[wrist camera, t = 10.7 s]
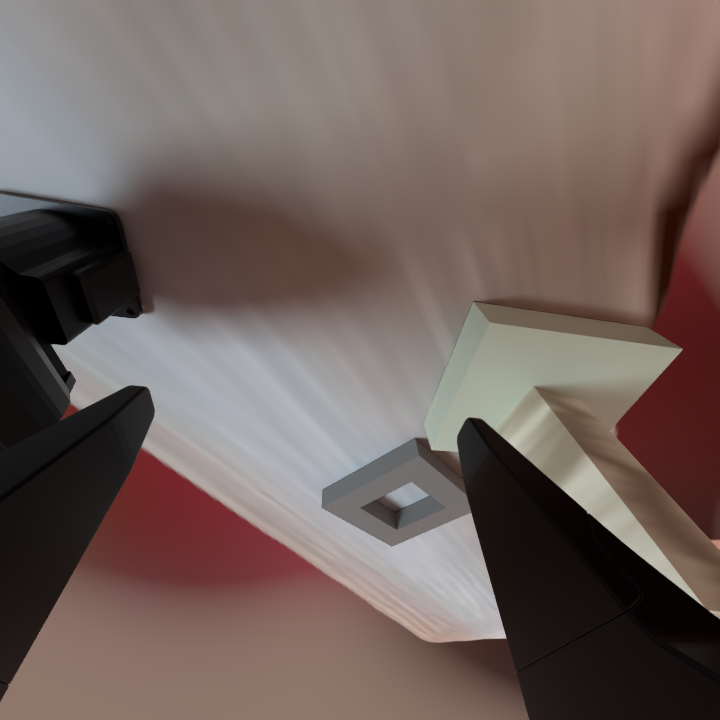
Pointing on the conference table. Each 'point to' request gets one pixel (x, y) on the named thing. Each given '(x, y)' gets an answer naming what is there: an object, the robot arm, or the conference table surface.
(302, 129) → the conference table surface
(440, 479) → the pocket holder
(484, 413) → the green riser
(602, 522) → the cream block
